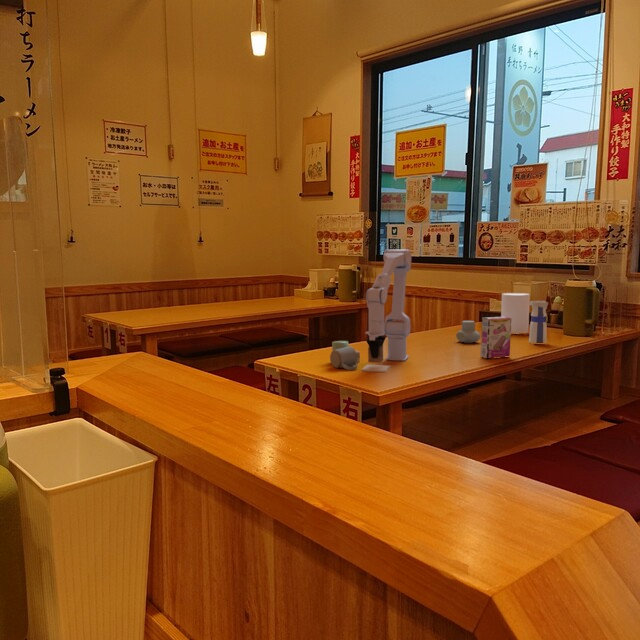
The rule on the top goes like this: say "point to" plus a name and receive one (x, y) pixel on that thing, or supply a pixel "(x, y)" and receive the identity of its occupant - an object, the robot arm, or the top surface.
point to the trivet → (376, 368)
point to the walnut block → (380, 356)
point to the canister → (516, 311)
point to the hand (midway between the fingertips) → (376, 356)
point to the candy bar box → (495, 337)
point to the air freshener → (468, 332)
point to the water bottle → (538, 322)
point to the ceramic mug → (344, 358)
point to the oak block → (358, 356)
